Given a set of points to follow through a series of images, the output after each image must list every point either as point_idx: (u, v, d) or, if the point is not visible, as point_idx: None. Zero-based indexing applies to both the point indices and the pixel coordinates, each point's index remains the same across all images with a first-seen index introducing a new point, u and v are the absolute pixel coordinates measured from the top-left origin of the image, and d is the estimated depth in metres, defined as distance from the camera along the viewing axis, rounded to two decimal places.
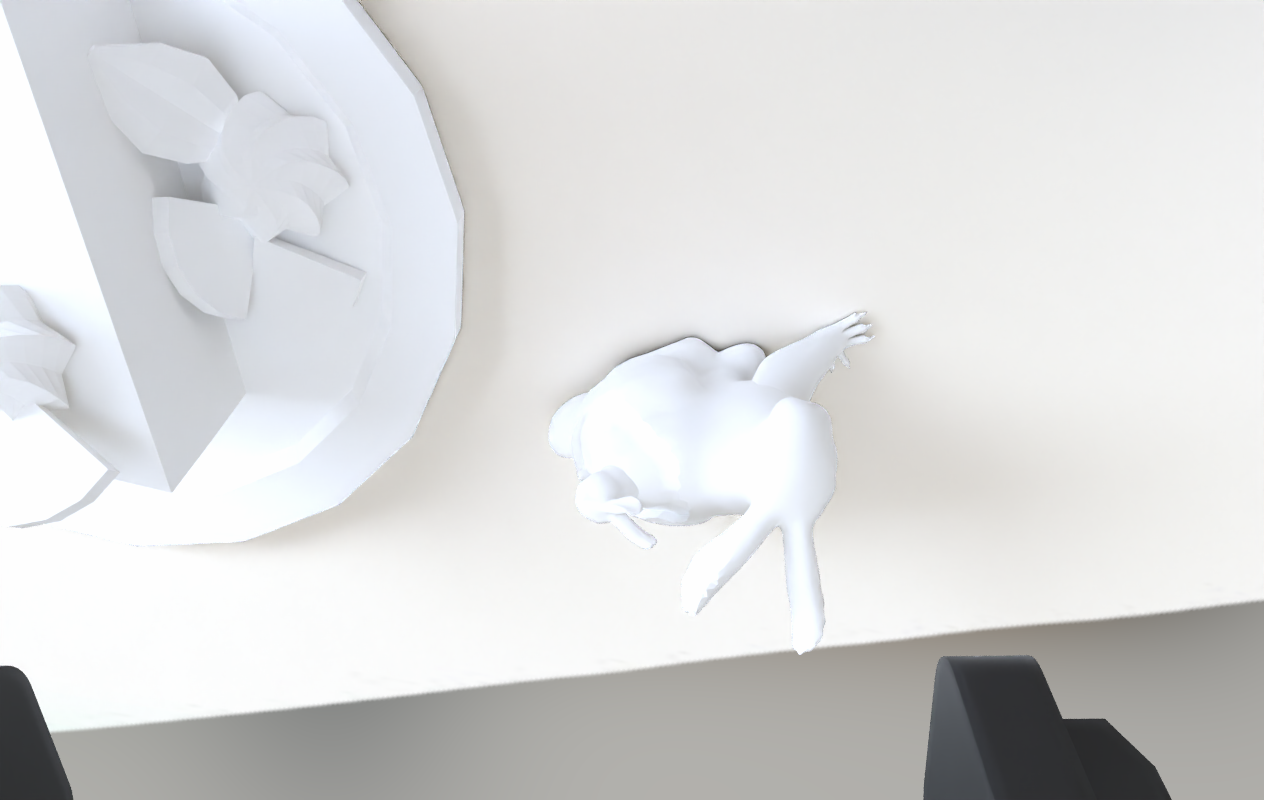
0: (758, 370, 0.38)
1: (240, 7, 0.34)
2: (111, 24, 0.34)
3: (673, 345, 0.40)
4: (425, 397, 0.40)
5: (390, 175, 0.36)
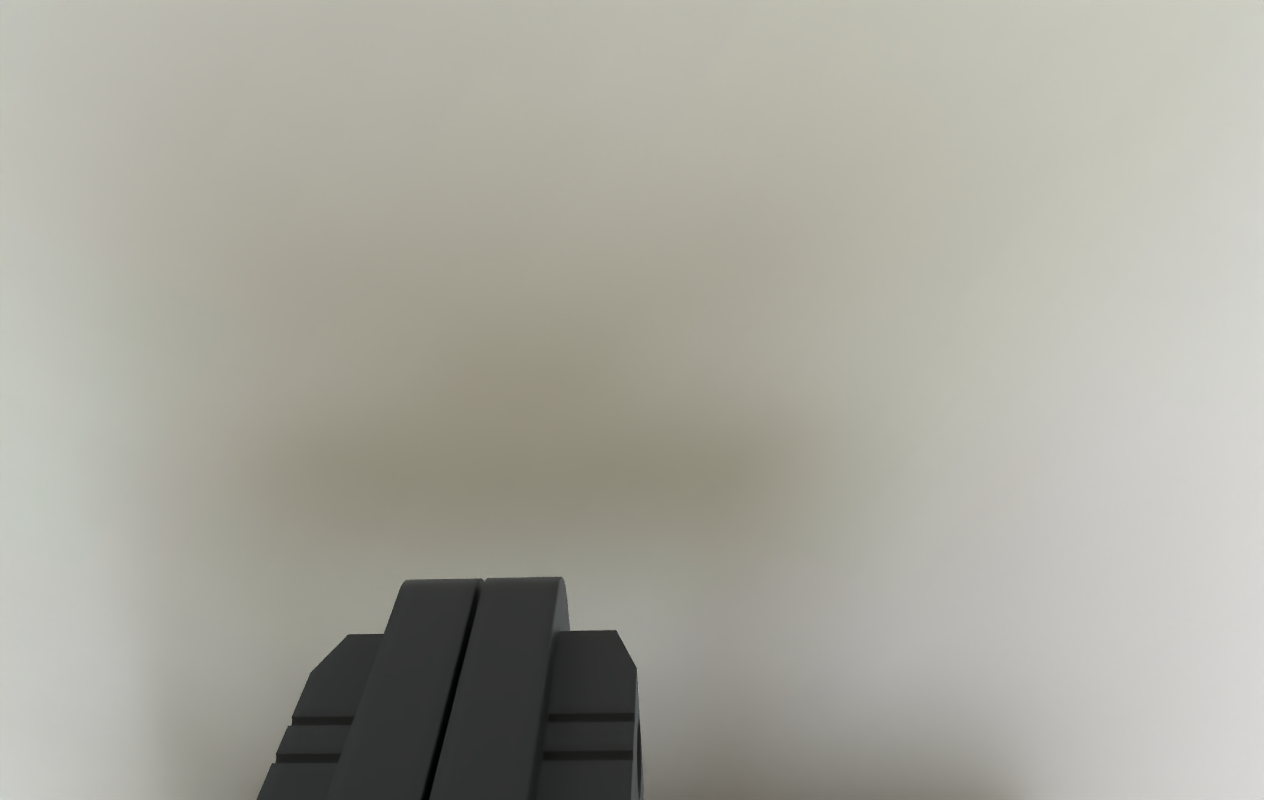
0: None
1: None
2: None
3: None
4: None
5: None
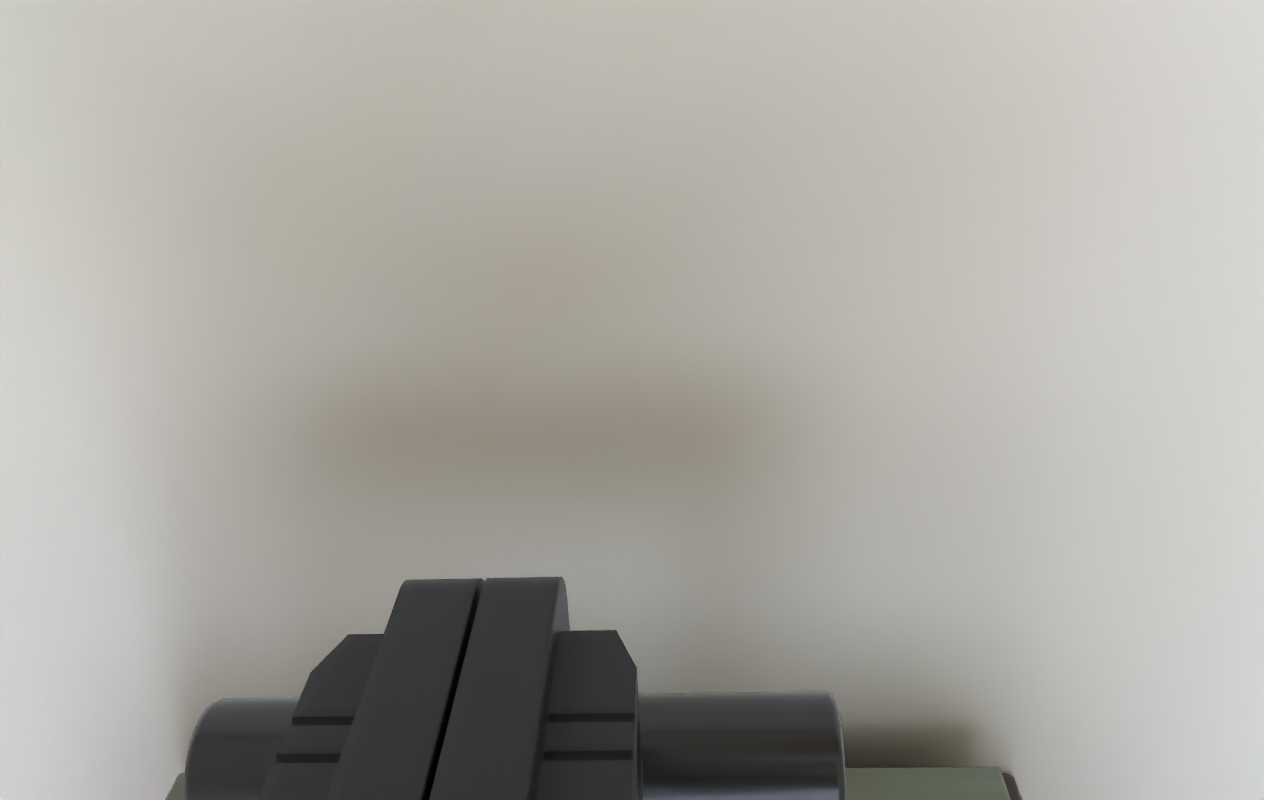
0: None
1: None
2: None
3: None
4: None
5: None
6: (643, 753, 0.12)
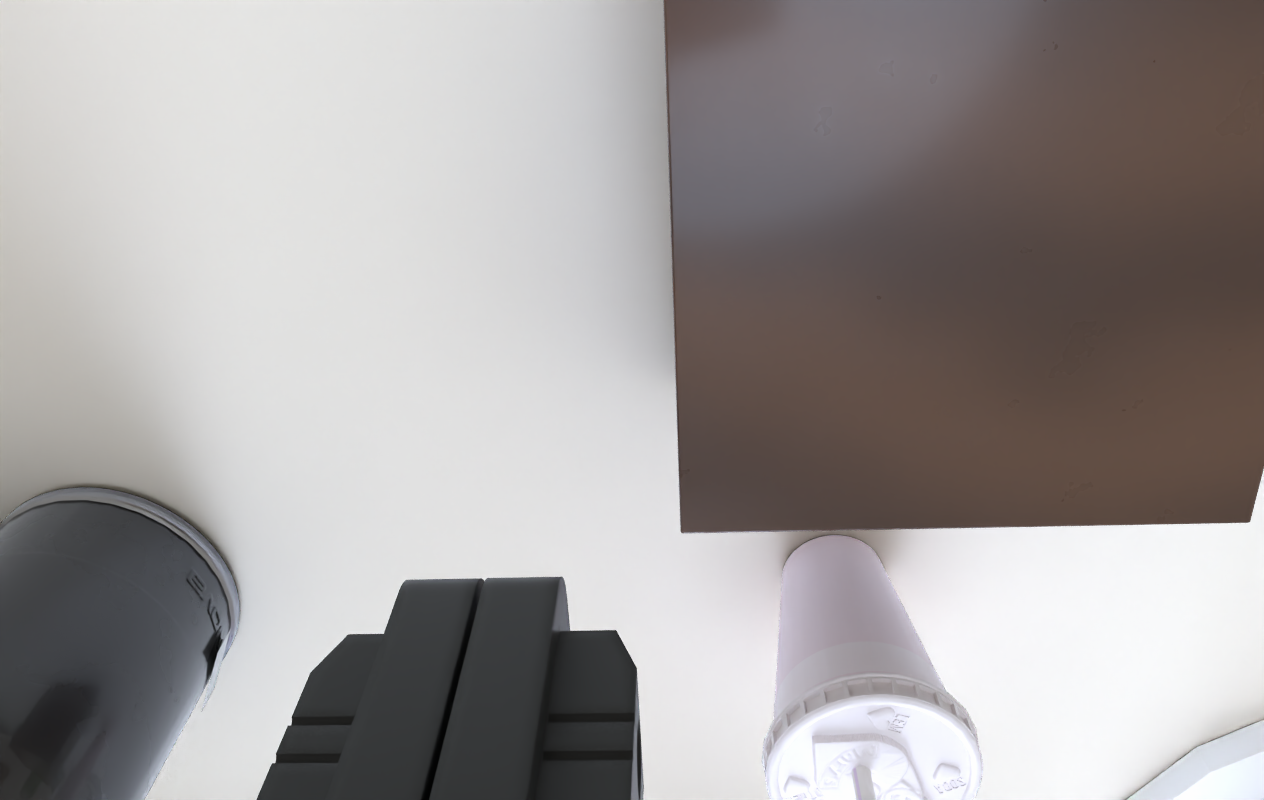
0: None
1: None
2: None
3: None
4: None
5: None
6: None
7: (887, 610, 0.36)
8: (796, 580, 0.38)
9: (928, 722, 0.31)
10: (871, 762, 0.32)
